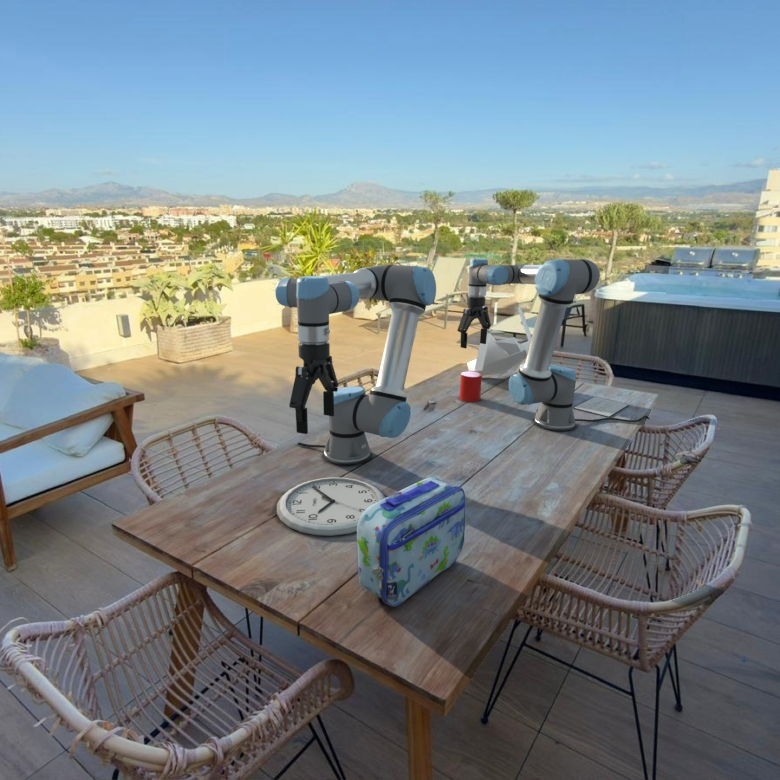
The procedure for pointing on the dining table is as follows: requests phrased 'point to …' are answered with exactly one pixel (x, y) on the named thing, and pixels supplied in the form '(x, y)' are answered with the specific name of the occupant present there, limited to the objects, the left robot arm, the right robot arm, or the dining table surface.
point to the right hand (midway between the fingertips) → (473, 345)
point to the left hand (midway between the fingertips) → (316, 423)
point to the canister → (470, 386)
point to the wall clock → (327, 505)
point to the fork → (430, 402)
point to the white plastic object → (500, 353)
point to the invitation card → (601, 406)
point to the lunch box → (410, 539)
